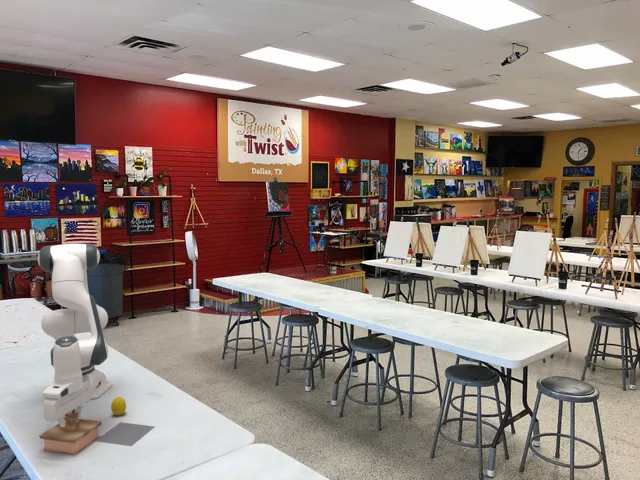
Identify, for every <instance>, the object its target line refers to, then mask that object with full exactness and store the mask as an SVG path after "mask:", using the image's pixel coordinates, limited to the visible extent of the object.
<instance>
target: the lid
mask: <svg viewBox="0 0 640 480" xmlns="http://www.w3.org/2000/svg"><path fill="white" fill-rule="evenodd" d="M64 420H65V421H67V425H66V426H65V427H60V422H59V423H57V424H55V425H54V426H52V427H51V428H49V429H47V430H46V431H44V432H42V433H41V434H39V435H38V436H39V440H44V439H46V440H53V441H60V442H67V443H74V444H75V443H76V442H77V441H79V440H80V439H82V438H83V437H85V436H86V435H87V434H89V433H90V432H92V431H93V430H95V429H96V428H97V429H98V428H99V427H100V426H102V425H103V424H102V420H100V421H99V420H92V419H84V418H80V417H79V415H78V414H68V415H67V416H65V418H64Z"/></svg>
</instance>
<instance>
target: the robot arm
mask: <svg viewBox="0 0 640 480" xmlns="http://www.w3.org/2000/svg"><path fill="white" fill-rule="evenodd" d="M100 260H101V254H100V251H99V248H98V246H97V245H96V244H92V243H67V244H66V243H65V244H57V245H56V244H55V245H50V244H49V245H45V246H43V247H42V248H40V249H39V253H38V255H37V263H38V267H40V269H41V270H42V271H43V272H45V273H50V274H52V275H51V293H52V298H53V300H54V301H55V302H56V303H57V304H58V305H60V306H62V307H64V308H61V309H55V310H51V311H47V312H46V313H45V314H44V315H43V316H42V319H41V321H40V322H41V324H40V325H41V329H42V331H43V332H44V333H45V334H46V335H47V336H49V337H51V338H53V340H55V341H54V343H53V347H52V348H51V350H50V364H51V366H52V367H53V368H54V376H53V381H52V382H51V384H49V385H48V387H46V389H44V390H43V392H42V397H43V398H45V399H44V401H43V406H42V407H43V410H42V411H43V418H44V419H45V420H46V421H48V422H55V421H58V422H59V423H60V427H65V426H66V425H67V421H65V420H64V418H65V414H67V413H69V412H70V411H72V410H74V409H75V413H74V414H78V415H79V418H81V417H82V410H83V408H84V404H85V403H87V402H89V401H90V400H93V399H94V400H95V399H98V398H100V397H101V396H102V395H103V394H104V393H105V392H106V391H108V390H109V389H110V388H111V387H112V386H113V383H112V382H111V381H107V375H106V374H105V373H104V372H102V371H100V370H98V369H96V368H95V367H96V366H100V365H102V364H103V363H104V362H105V361H106V360H107V359H108V355H109V347H108V344H107V342H106V340H105V336H104V333H103V329H105V328H106V326H107V324H108V323H109V316H108V312H107V310H106V309H105V308H104V307H102V306H100V305H98V304H97V303H96V300H95V297H94V296H93V295H91V294H90V293H89V292H90V291H89V286H88V285H89V284H88V274H87V271H89V270H93V269H95V268H97V267H98V266H99V263H100ZM86 333H90V334H91V336H90V337H89V338H83V339H79V338H77V336H76V334H86Z"/></svg>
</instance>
